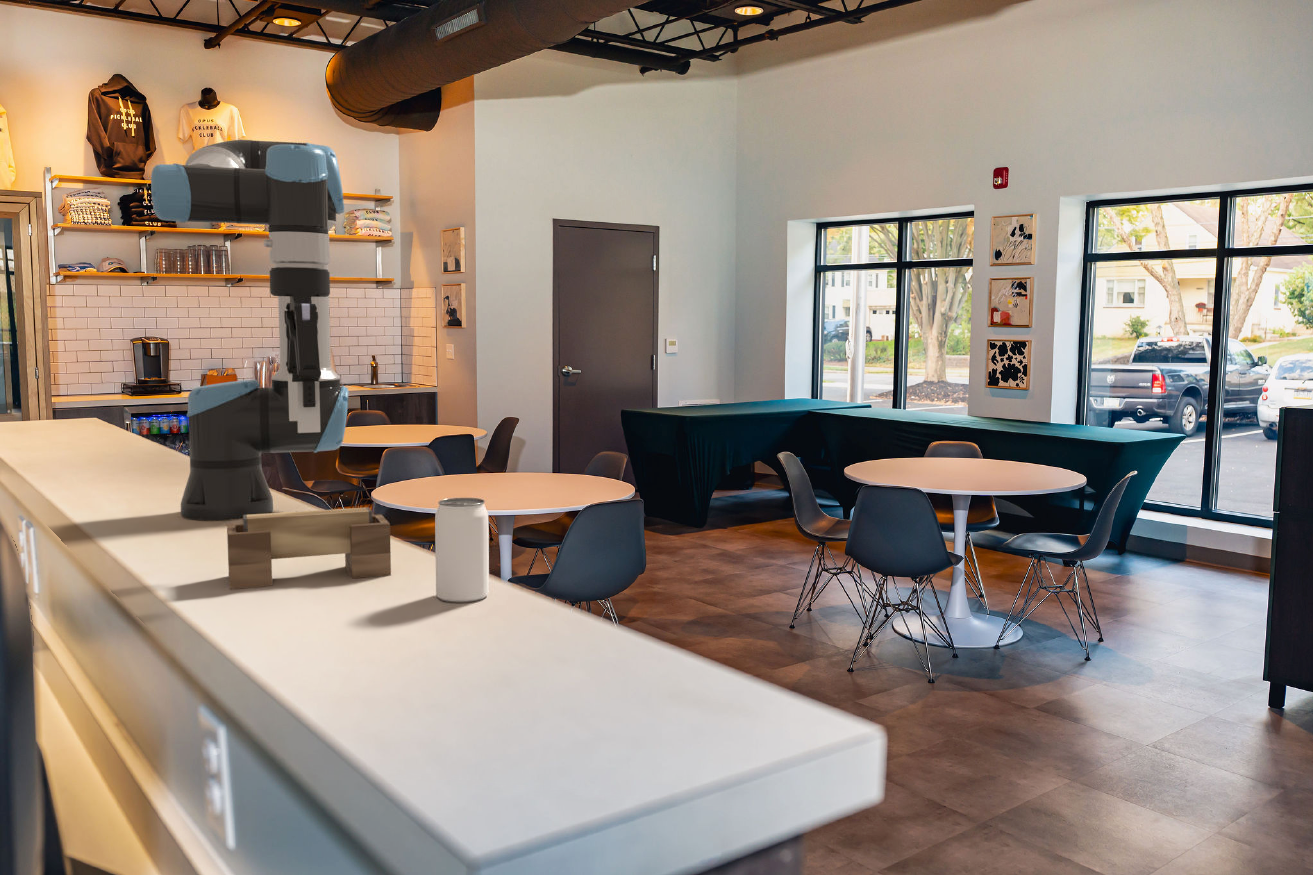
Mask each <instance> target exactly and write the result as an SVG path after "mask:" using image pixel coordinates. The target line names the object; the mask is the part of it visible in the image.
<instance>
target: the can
mask: <svg viewBox="0 0 1313 875" xmlns="http://www.w3.org/2000/svg"><path fill="white" fill-rule="evenodd" d="M485 502H486V501H485V500H484V499H482V498H478V497H452V498H445V499H441V500H439V501H438V508H437V509H436V512H435V517H434V519H435V520H434V523H435V524H434V525H435V526H434V527H435V528H434V531H435V534H434V535H435V536H434V537H435V541H434V542H435V544H434V545H435V546H434V548H435V592H436V593H435V595H436V597H438V599H439V600H441V601H442V602H446V603H454V604H462V603H463V604H465V603H474V602H477V601H478V602H479V601H481V600H484V599H485V598H486V597H487V596H488V595H489V593H490V592H489V590H490V569H489V568H490V566H489V565H490V559H489V557H490V556H489V555H490V553H489V552H490V548H489V546H490V545H489V544H490V543H489V542H490V538H489V536H490V535H489V530H490V529H489V512H488V510H487V508H486V505H485Z"/></svg>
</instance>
